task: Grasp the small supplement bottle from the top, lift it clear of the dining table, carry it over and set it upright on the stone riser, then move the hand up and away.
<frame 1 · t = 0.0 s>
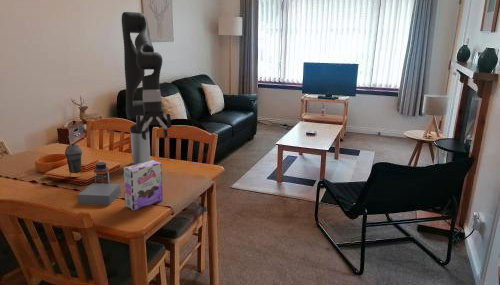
hand: (154, 138, 155), 22 cm above the table, tool pointing down, fingers open, 8 cm apart
supplement bottle: (102, 188, 159), on the table
stone riser: (100, 198, 148), on the table
beverage cup: (76, 176, 171), on the table
candy box: (144, 204, 145), on the table
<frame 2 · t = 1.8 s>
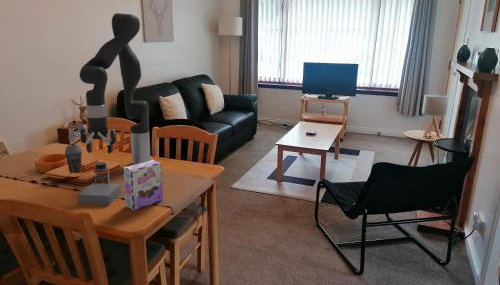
hand: (99, 152, 155), 16 cm above the table, tool pointing down, fingers open, 8 cm apart
nothing on the table moved.
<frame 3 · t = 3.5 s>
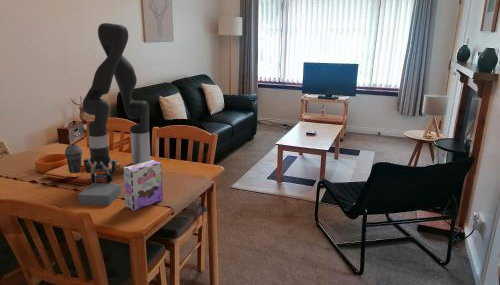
hand: (102, 182, 158), 3 cm above the table, tool pointing down, fingers closed on supplement bottle, 6 cm apart
supplement bottle: (102, 188, 159), on the table, touching gripper
everything else where it was.
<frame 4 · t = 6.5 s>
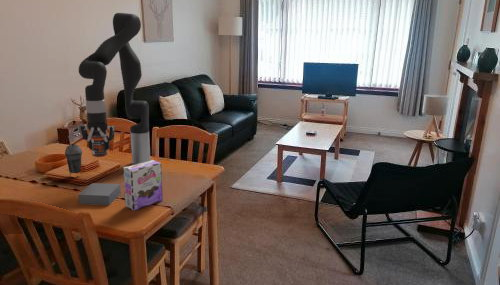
hand: (99, 149, 155), 17 cm above the table, tool pointing down, fingers closed on supplement bottle, 6 cm apart
supplement bottle: (100, 155, 155), point 15 cm above the table, touching gripper
everything else where it was.
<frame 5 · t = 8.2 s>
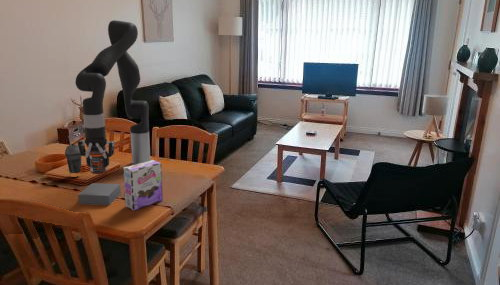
hand: (98, 166, 145), 14 cm above the table, tool pointing down, fingers closed on supplement bottle, 6 cm apart
supplement bottle: (98, 172, 146), point 11 cm above the table, touching gripper
everything else where it was.
when the fingers open (8 cm above the table, at t = 9.7 s): supplement bottle drops 1 cm, resting on stone riser.
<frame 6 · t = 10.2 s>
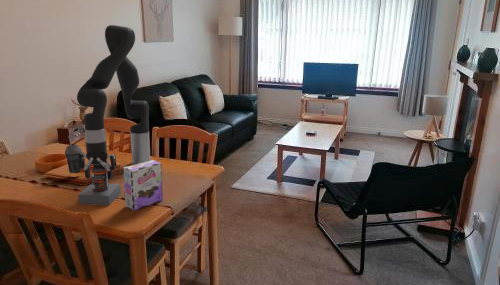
hand: (99, 178, 146), 9 cm above the table, tool pointing down, fingers open, 8 cm apart
supplement bottle: (100, 189, 148), point 4 cm above the table, touching stone riser
everything else where it was.
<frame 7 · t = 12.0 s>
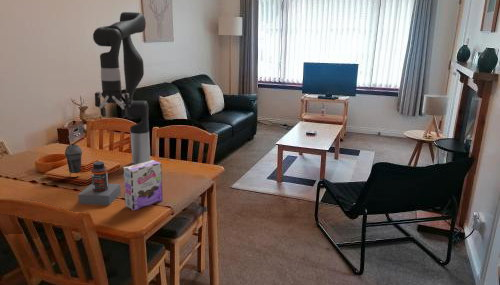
hand: (114, 117, 155), 31 cm above the table, tool pointing down, fingers open, 8 cm apart
nothing on the table moved.
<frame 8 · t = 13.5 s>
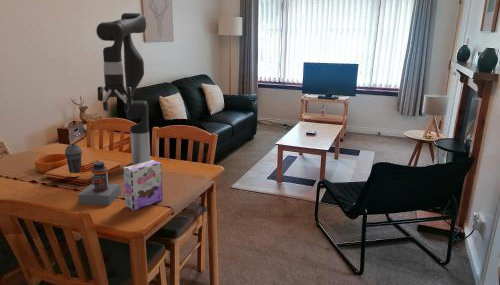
hand: (116, 111, 156), 33 cm above the table, tool pointing down, fingers open, 8 cm apart
nothing on the table moved.
at the end: supplement bottle inside the target area on the stone riser (0.2 cm from its centre), point 3.8 cm above the stone riser's base; supplement bottle tilted 0°; the gripper is holding nothing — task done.
